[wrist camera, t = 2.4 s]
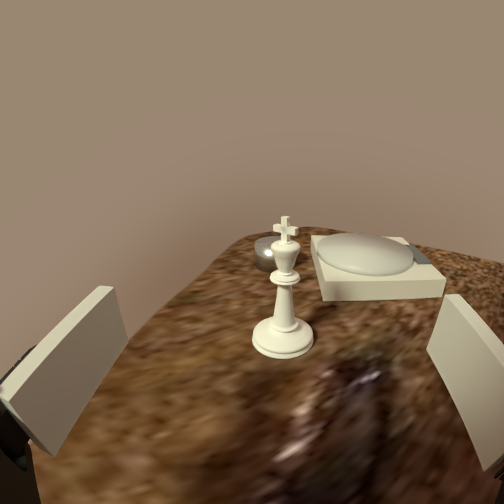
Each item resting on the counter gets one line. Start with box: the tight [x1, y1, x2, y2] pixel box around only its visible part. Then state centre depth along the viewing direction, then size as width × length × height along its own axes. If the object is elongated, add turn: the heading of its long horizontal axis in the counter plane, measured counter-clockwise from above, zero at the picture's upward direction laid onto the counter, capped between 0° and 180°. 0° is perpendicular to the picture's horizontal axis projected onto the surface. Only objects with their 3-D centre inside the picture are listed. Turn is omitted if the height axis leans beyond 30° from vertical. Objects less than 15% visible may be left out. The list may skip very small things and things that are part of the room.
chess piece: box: [252, 216, 313, 359], centre depth 20 cm, size 5×5×10 cm
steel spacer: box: [255, 236, 295, 273], centre depth 36 cm, size 5×5×3 cm
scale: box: [311, 233, 446, 301], centre depth 33 cm, size 14×14×3 cm
